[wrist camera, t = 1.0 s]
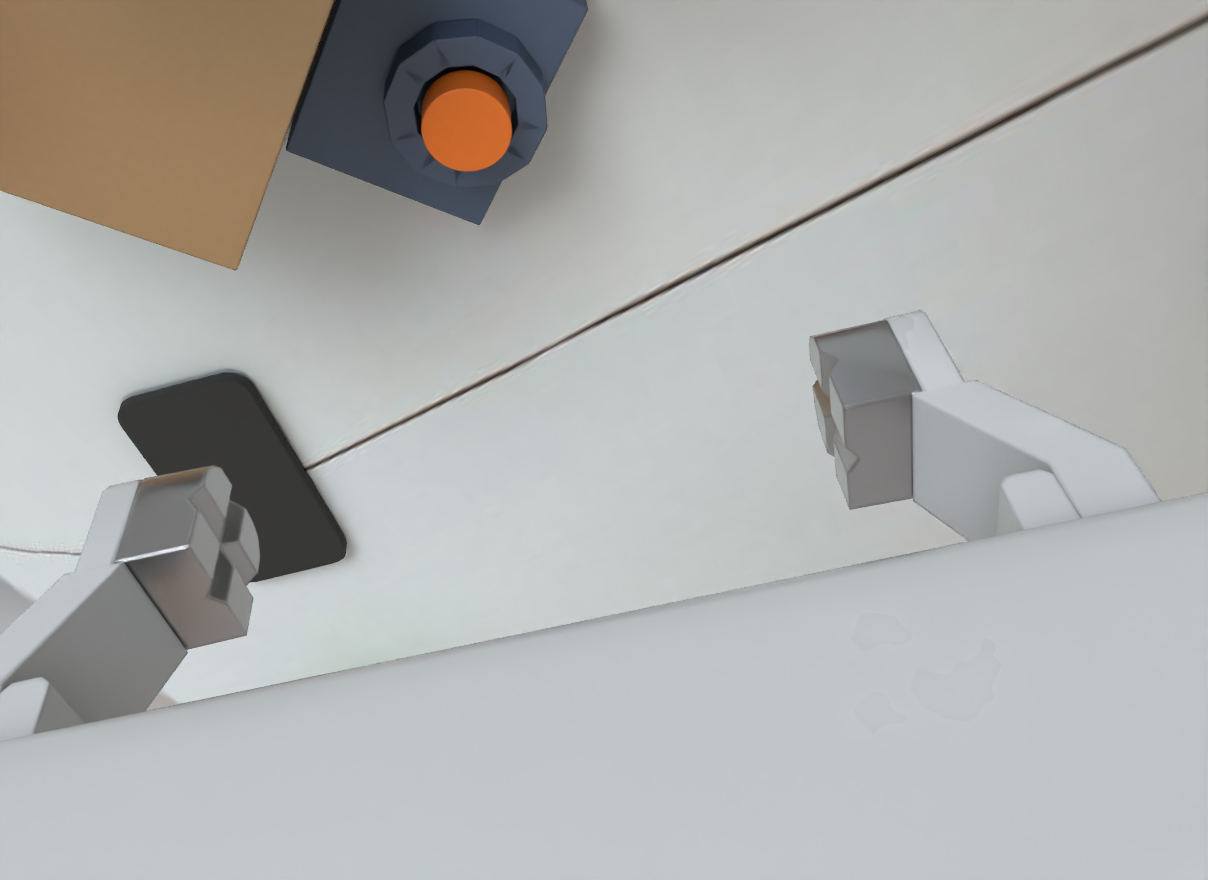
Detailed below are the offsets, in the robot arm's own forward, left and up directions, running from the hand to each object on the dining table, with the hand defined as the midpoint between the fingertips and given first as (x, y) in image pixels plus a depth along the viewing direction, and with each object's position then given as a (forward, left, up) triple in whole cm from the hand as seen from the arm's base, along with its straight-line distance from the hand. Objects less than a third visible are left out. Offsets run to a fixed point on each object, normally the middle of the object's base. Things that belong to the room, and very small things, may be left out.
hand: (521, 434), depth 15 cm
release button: (+11, +2, -32) cm, 34 cm away
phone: (+37, -5, -36) cm, 52 cm away
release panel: (+10, 0, -36) cm, 38 cm away
